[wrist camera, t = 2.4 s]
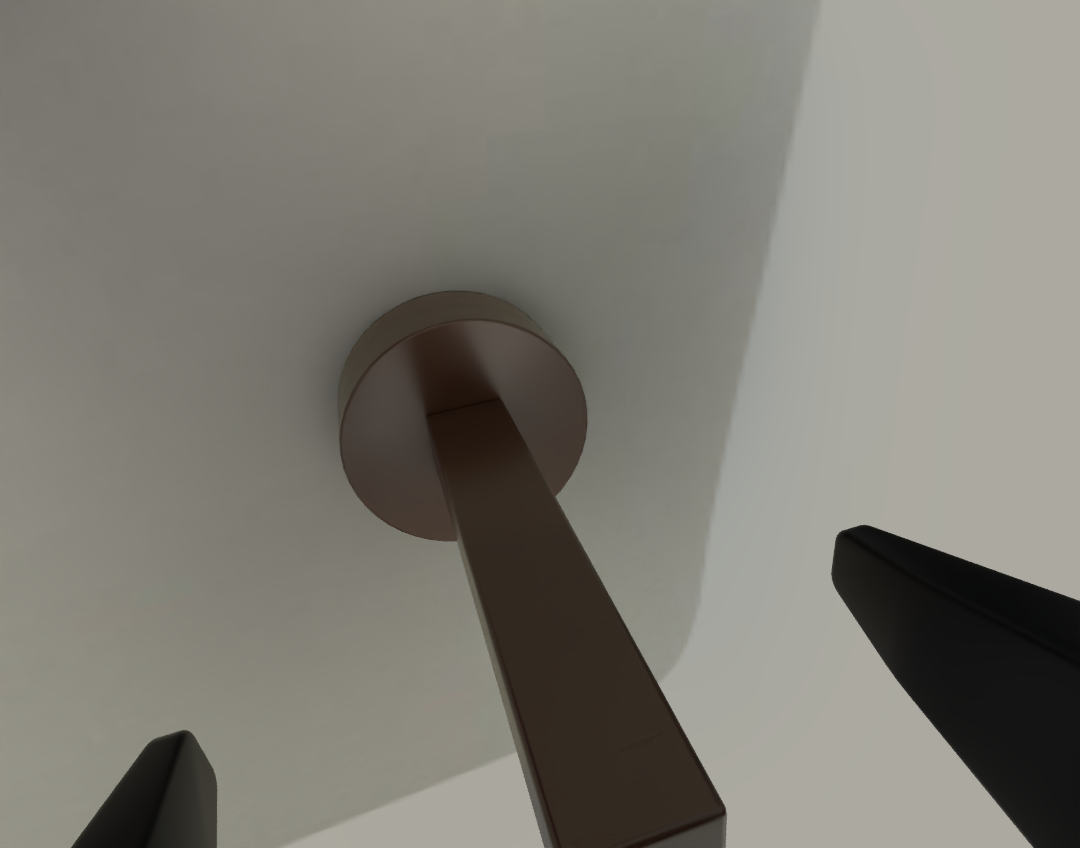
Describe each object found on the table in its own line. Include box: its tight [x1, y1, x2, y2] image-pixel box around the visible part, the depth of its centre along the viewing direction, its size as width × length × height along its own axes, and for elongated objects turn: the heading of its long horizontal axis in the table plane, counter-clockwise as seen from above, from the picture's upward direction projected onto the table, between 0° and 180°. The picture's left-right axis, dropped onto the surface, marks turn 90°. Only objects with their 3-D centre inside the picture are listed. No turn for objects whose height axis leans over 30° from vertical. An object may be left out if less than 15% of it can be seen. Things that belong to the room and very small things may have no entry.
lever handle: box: [338, 291, 727, 848], centre depth 11 cm, size 5×5×11 cm
